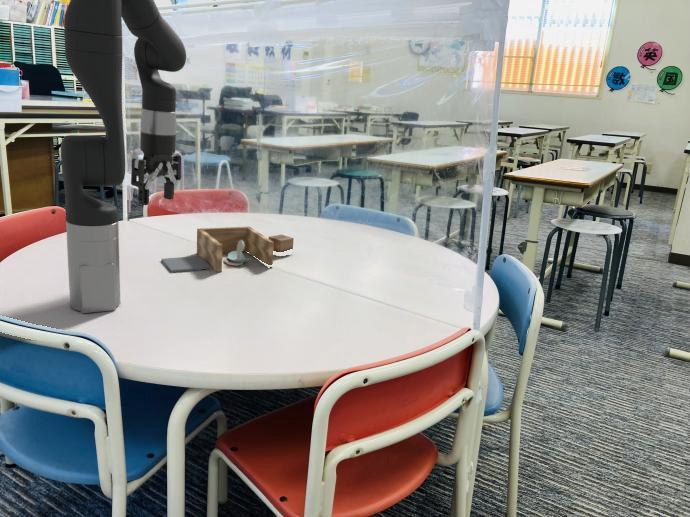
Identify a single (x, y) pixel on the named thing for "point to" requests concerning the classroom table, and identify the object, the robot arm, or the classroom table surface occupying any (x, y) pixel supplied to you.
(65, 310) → the classroom table surface
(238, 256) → the pacifier
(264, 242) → the cubby
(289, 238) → the walnut block
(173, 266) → the pad
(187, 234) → the classroom table surface
